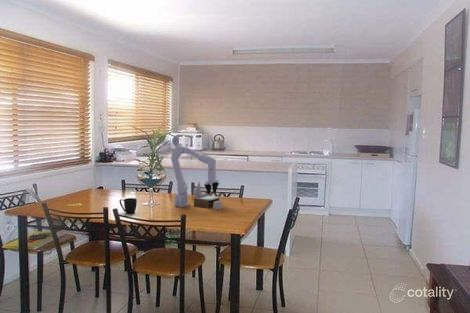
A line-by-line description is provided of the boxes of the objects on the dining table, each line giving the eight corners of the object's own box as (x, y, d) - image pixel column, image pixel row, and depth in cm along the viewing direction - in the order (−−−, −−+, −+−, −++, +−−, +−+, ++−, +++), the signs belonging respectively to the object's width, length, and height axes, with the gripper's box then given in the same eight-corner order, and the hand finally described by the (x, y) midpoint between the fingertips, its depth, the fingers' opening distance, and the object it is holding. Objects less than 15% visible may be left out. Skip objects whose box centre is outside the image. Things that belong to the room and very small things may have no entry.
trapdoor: (209, 200, 292) (209, 197, 291) (196, 198, 298) (196, 196, 297) (218, 198, 302) (218, 195, 302) (205, 196, 308) (205, 193, 308)
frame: (207, 208, 291) (207, 200, 290) (194, 206, 297) (194, 198, 296) (219, 204, 304) (219, 197, 304) (205, 202, 310) (205, 195, 310)
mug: (123, 211, 278) (123, 197, 277) (139, 212, 274) (139, 198, 274) (116, 213, 270) (116, 199, 269) (132, 215, 266) (132, 200, 266)
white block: (218, 209, 287) (218, 202, 286) (213, 208, 289) (213, 201, 289) (222, 208, 291) (222, 201, 290) (216, 207, 293) (216, 200, 293)
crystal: (207, 201, 314) (207, 182, 313) (191, 201, 316) (191, 181, 315) (210, 199, 324) (210, 180, 322) (194, 198, 326) (194, 180, 325)
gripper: (210, 176, 288) (210, 195, 289) (221, 174, 301) (221, 192, 302) (202, 175, 292) (202, 194, 293) (213, 173, 304) (213, 191, 305)
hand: (211, 193), depth 298 cm, fingers open, 7 cm apart
